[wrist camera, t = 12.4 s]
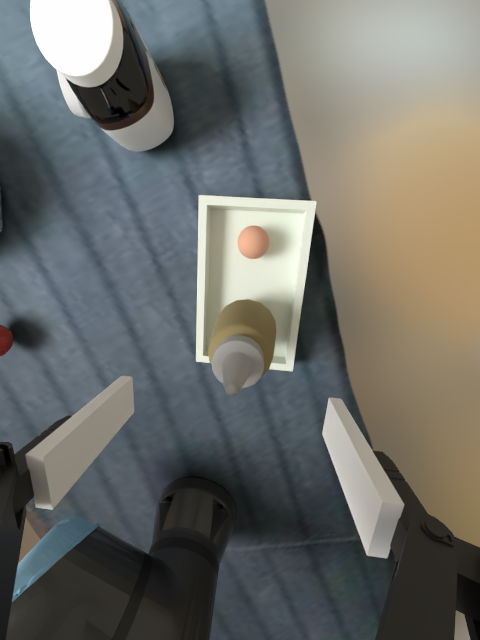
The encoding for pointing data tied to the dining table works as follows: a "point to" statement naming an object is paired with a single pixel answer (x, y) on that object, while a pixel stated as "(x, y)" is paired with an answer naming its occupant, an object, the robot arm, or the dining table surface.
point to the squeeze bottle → (242, 344)
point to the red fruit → (5, 340)
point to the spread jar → (105, 69)
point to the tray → (253, 266)
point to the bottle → (0, 223)
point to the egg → (253, 242)
